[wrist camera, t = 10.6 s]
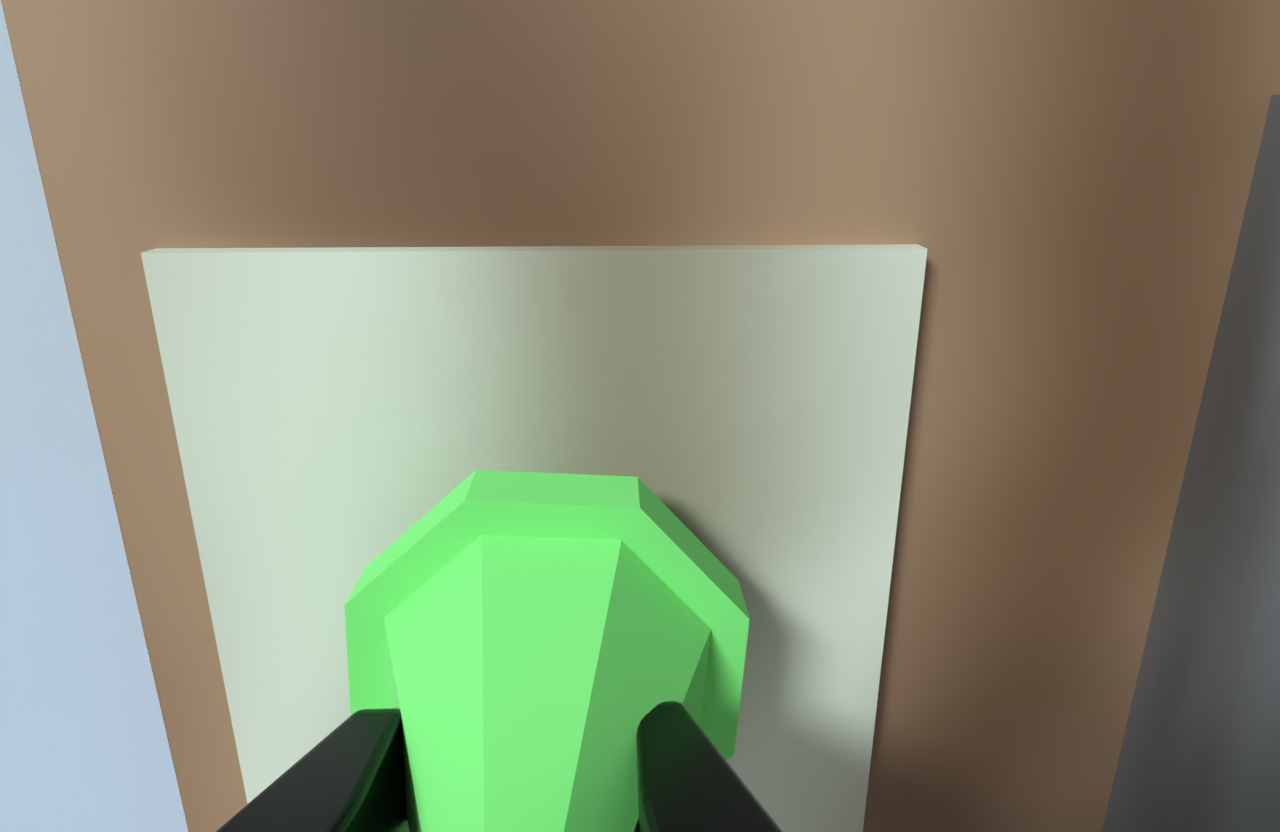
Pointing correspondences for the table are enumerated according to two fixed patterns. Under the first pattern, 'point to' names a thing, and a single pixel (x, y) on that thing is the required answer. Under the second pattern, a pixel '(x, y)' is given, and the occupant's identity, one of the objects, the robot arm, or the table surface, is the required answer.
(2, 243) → the table surface
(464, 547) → the game piece
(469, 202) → the switch board
